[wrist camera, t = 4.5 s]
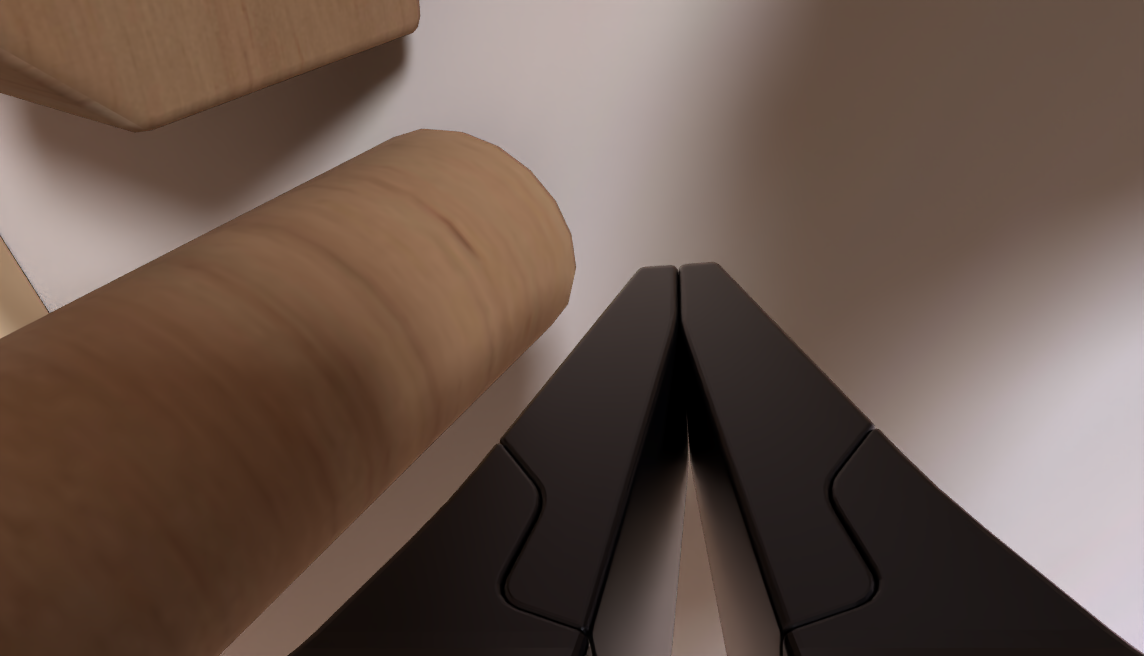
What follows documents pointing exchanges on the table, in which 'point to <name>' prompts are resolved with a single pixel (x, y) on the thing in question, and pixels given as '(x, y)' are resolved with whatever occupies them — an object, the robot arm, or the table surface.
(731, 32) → the table surface
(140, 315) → the wooden block set
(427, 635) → the robot arm
